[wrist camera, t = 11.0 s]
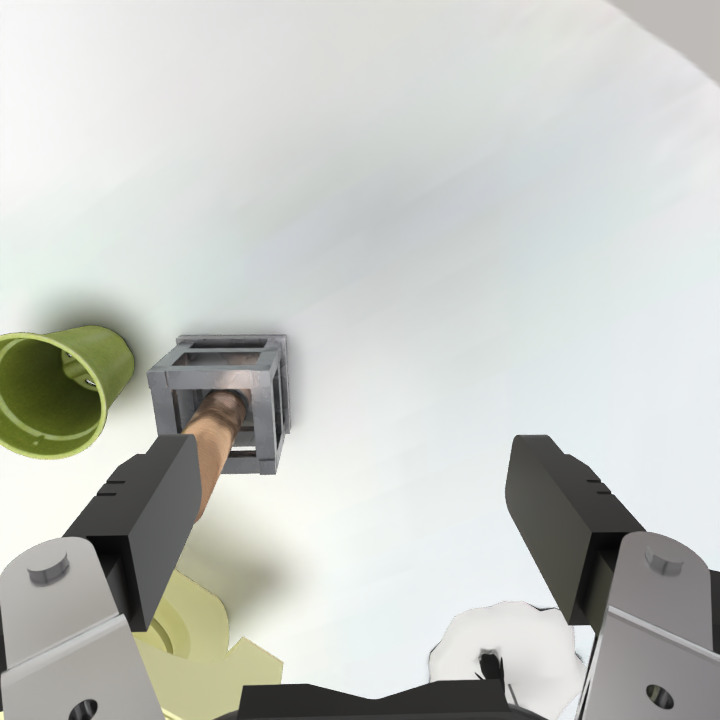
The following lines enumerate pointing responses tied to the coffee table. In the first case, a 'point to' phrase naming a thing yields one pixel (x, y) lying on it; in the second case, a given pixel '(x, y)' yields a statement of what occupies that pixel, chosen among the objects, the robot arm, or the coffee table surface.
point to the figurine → (513, 655)
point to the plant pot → (59, 389)
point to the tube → (216, 433)
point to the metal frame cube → (228, 371)
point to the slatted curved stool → (199, 655)
